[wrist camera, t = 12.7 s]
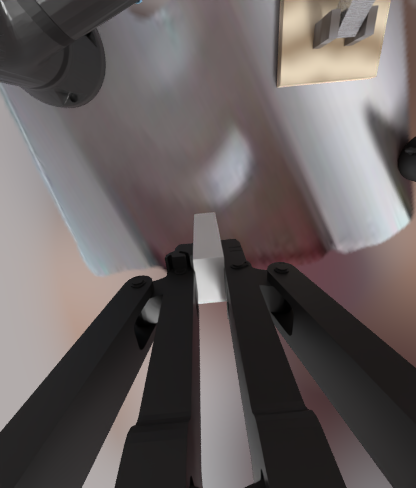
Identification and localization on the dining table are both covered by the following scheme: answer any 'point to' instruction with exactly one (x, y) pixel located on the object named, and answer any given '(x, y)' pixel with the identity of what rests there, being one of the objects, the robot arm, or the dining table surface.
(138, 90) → the dining table surface
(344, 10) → the lever
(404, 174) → the mug
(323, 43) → the tan bracket base plate
